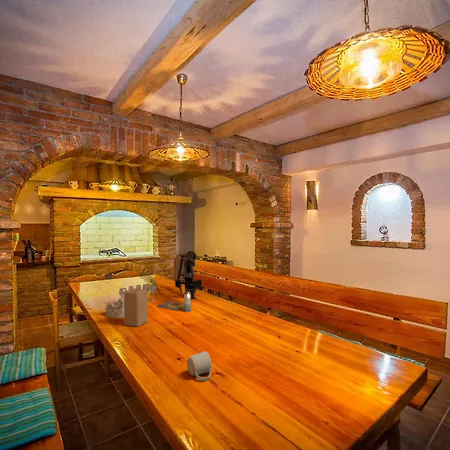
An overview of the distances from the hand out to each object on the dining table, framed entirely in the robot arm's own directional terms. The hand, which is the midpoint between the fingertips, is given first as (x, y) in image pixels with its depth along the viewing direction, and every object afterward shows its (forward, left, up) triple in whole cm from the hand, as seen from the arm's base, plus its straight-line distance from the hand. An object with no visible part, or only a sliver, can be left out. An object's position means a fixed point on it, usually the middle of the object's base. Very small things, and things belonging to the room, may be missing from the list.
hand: (188, 293), depth 201 cm
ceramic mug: (+65, +59, -11) cm, 89 cm away
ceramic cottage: (+31, -32, -11) cm, 46 cm away
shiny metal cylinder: (+4, +2, -11) cm, 12 cm away
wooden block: (+39, -9, -11) cm, 41 cm away
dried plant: (-16, -60, -11) cm, 63 cm away
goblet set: (+7, -43, -11) cm, 44 cm away
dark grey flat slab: (0, -14, -11) cm, 17 cm away
